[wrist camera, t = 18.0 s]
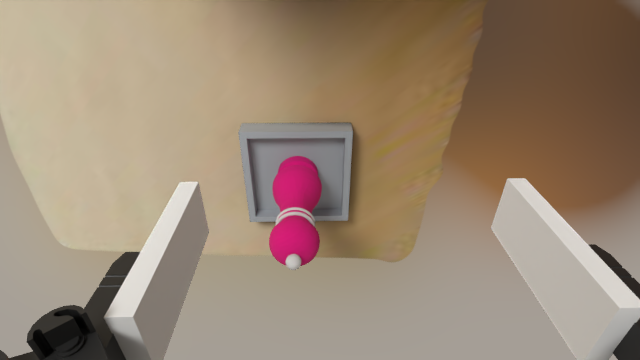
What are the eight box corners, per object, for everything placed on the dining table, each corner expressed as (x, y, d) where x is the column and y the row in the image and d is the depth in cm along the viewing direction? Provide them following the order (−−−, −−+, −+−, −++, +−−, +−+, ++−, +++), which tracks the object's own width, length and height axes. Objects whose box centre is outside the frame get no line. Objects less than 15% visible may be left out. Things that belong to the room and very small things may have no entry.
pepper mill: (293, 199, 59) (286, 298, 42) (265, 168, 56) (246, 262, 39) (329, 177, 57) (338, 272, 40) (303, 144, 54) (300, 232, 37)
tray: (241, 123, 53) (238, 132, 50) (350, 122, 53) (352, 131, 51) (252, 210, 61) (250, 221, 59) (346, 209, 62) (347, 220, 59)
